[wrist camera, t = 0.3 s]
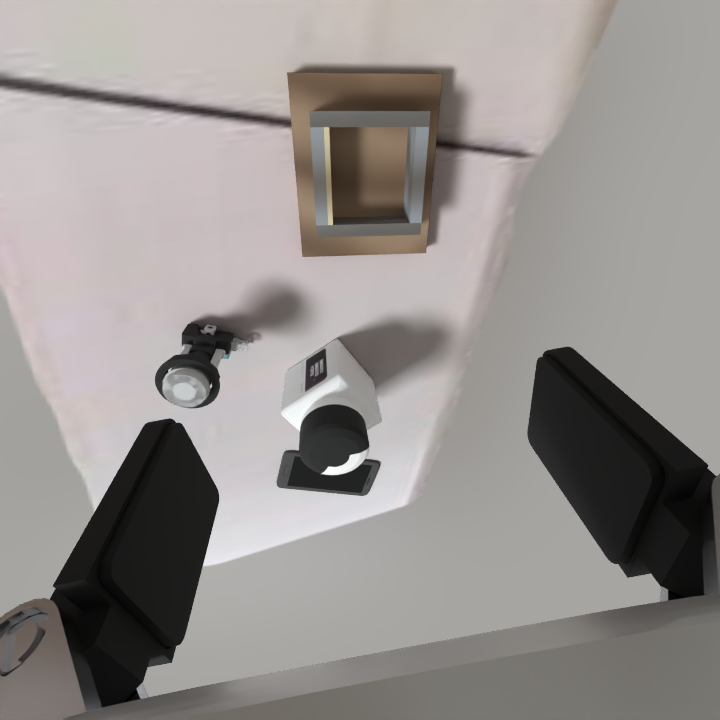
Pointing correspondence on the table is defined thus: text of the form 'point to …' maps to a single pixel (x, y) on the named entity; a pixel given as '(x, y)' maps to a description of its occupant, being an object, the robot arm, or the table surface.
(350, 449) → the container
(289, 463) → the cell phone
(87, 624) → the robot arm
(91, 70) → the table surface
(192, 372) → the push button
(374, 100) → the collar board
